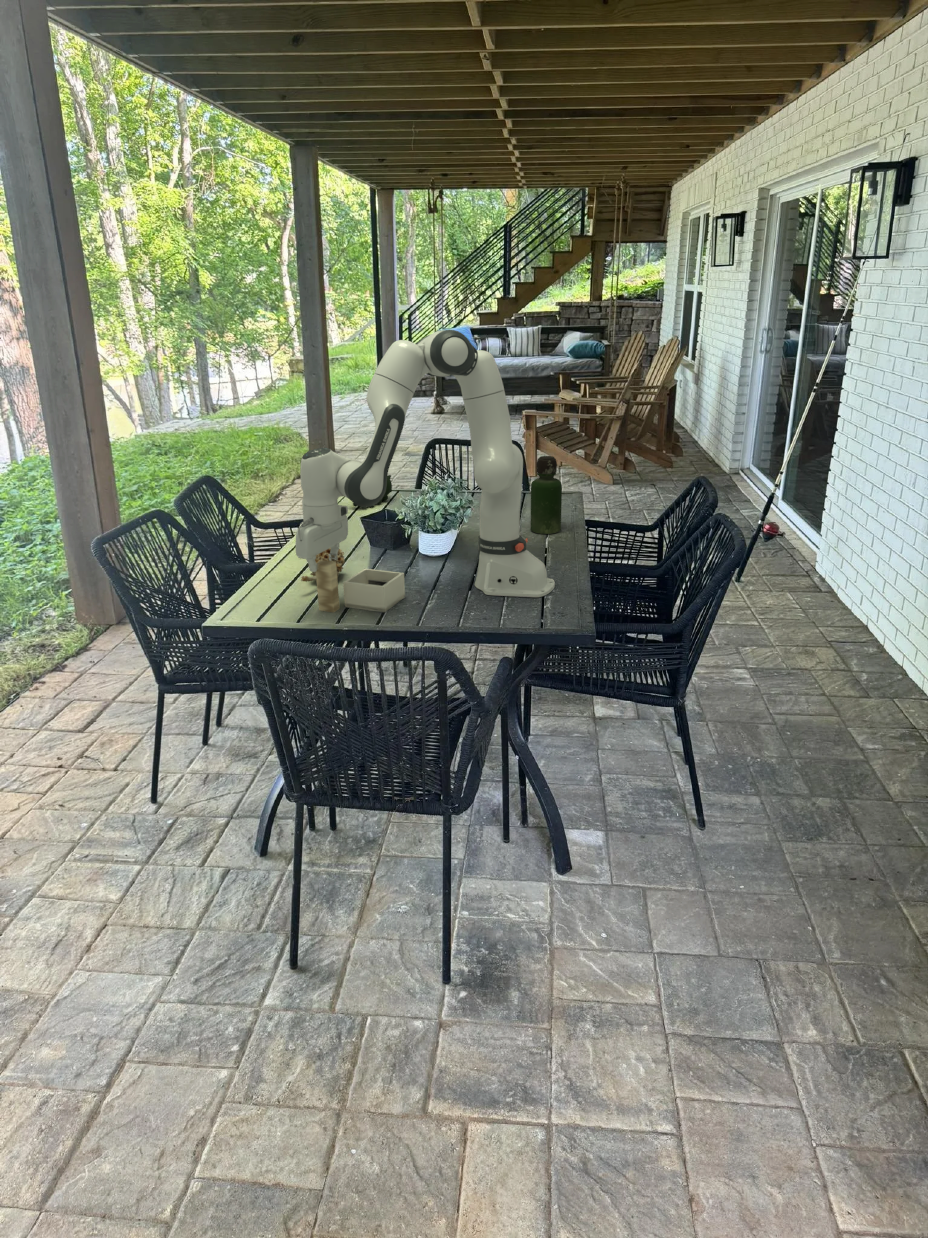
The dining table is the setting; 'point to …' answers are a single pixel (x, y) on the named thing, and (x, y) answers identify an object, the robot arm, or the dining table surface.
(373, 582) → the clip
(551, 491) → the green bottle
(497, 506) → the robot arm
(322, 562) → the tall tan wooden post
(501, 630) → the dining table surface
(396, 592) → the square planter tray
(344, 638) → the dining table surface
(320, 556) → the pine cone
